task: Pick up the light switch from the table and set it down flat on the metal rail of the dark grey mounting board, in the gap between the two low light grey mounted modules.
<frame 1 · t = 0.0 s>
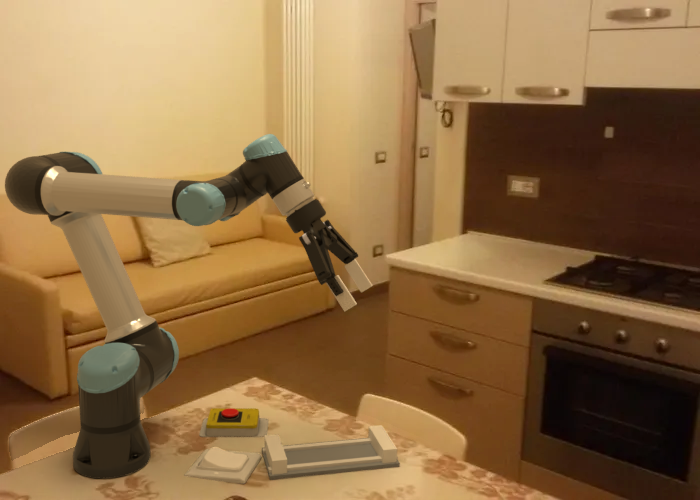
hand: (359, 298, 146), 36 cm above the table, tool tilted 35°, fingers open, 13 cm apart
emergency button: (234, 430, 169), on the table
rail board: (329, 458, 156), on the table
light switch: (223, 470, 152), on the table
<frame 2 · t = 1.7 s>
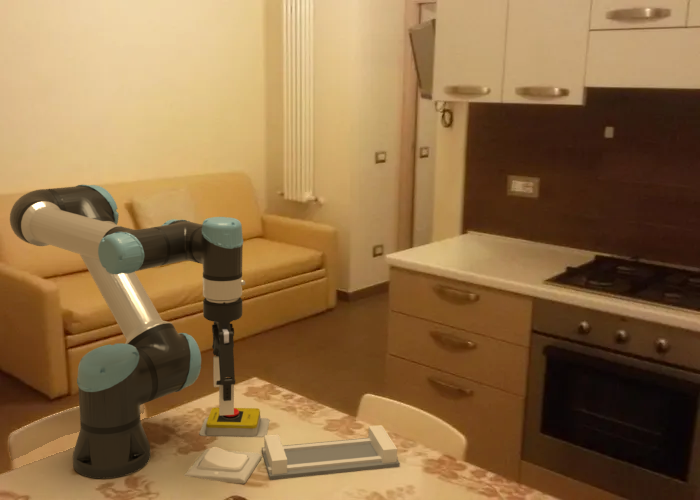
hand: (223, 399, 149), 15 cm above the table, tool pointing down, fingers open, 13 cm apart
nothing on the table moved.
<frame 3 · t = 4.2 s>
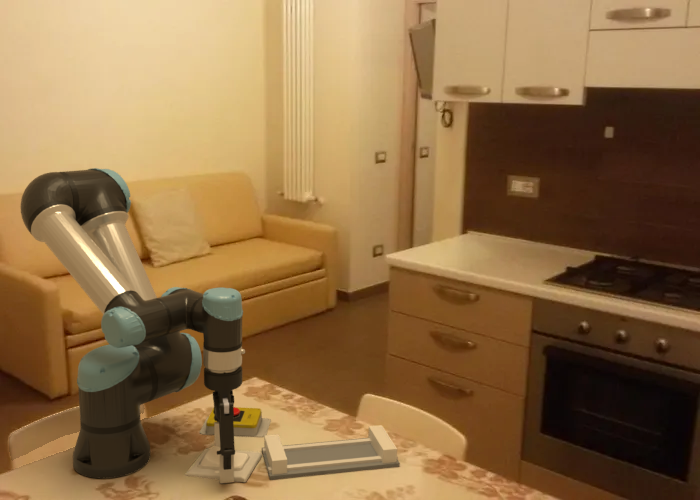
hand: (223, 465, 152), 0 cm above the table, tool pointing down, fingers open, 12 cm apart
light switch: (224, 469, 152), on the table, touching gripper
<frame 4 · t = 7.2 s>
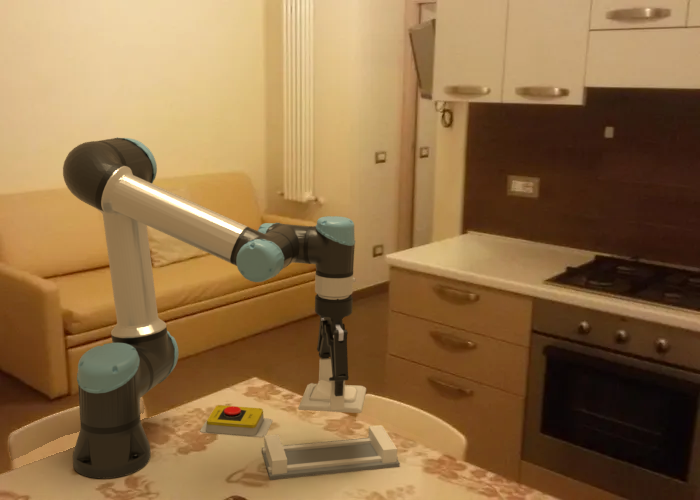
hand: (330, 398, 153), 14 cm above the table, tool pointing down, fingers closed on light switch, 10 cm apart
light switch: (333, 402, 155), point 12 cm above the table, touching gripper
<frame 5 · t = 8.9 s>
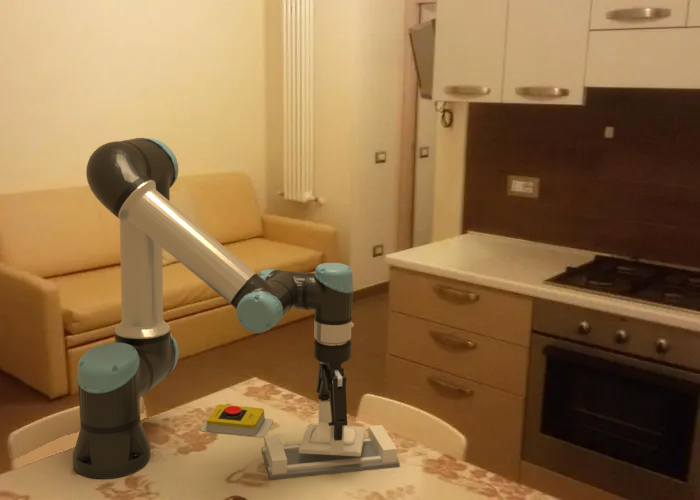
hand: (330, 440, 155), 4 cm above the table, tool pointing down, fingers closed on light switch, 10 cm apart
light switch: (332, 444, 157), point 3 cm above the table, touching gripper
when the fingers open (3 cm above the table, at t = 10.3 s): light switch stays where it is, resting on rail board.
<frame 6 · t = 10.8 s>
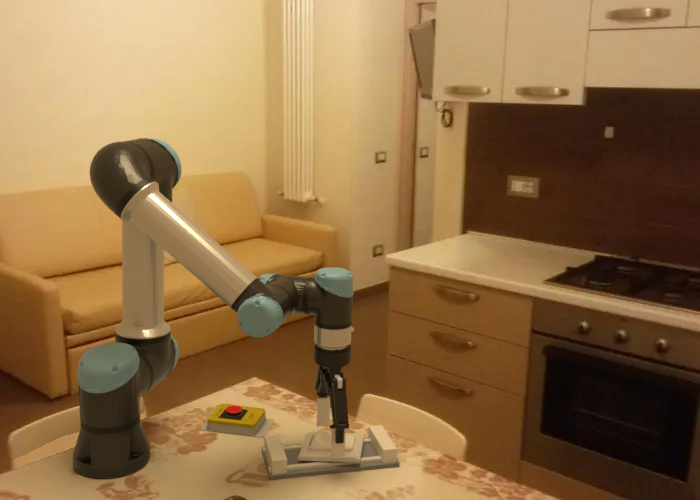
hand: (330, 440, 155), 4 cm above the table, tool pointing down, fingers open, 13 cm apart
light switch: (331, 451, 157), point 1 cm above the table, touching rail board
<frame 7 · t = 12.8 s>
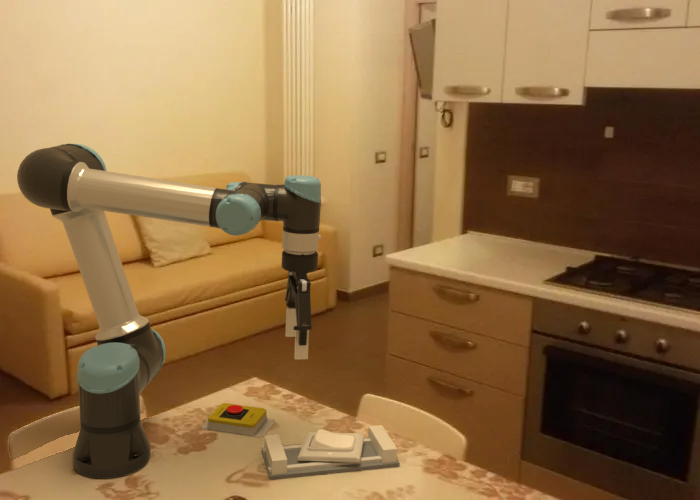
hand: (296, 347, 159), 22 cm above the table, tool pointing down, fingers open, 13 cm apart
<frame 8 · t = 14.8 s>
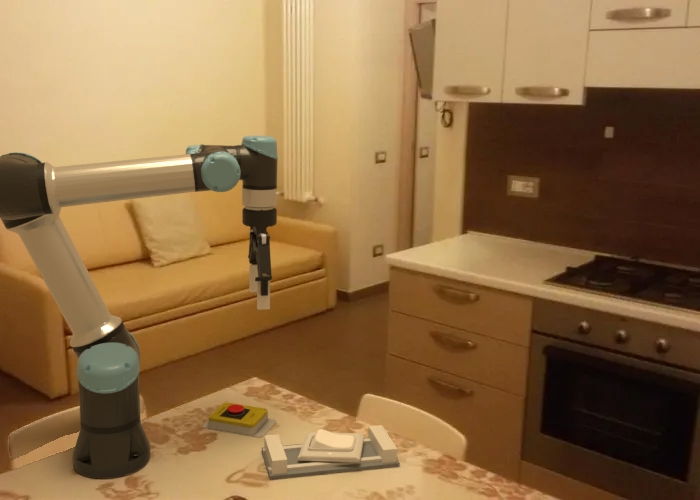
hand: (259, 300, 168), 29 cm above the table, tool pointing down, fingers open, 13 cm apart
at the end: light switch 1.0 cm off-centre on the rail board, point 1.2 cm above the rail board's base; light switch tilted 0°; the gripper is holding nothing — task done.
